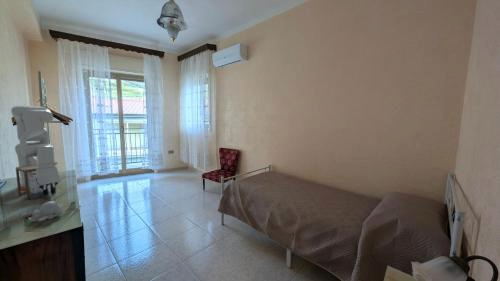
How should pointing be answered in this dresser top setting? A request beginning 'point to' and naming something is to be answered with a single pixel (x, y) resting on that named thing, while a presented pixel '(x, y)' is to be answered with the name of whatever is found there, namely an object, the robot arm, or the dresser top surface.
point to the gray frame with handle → (40, 194)
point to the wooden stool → (25, 170)
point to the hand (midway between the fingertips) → (49, 194)
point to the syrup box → (32, 183)
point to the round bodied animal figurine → (46, 211)
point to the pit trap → (23, 190)
